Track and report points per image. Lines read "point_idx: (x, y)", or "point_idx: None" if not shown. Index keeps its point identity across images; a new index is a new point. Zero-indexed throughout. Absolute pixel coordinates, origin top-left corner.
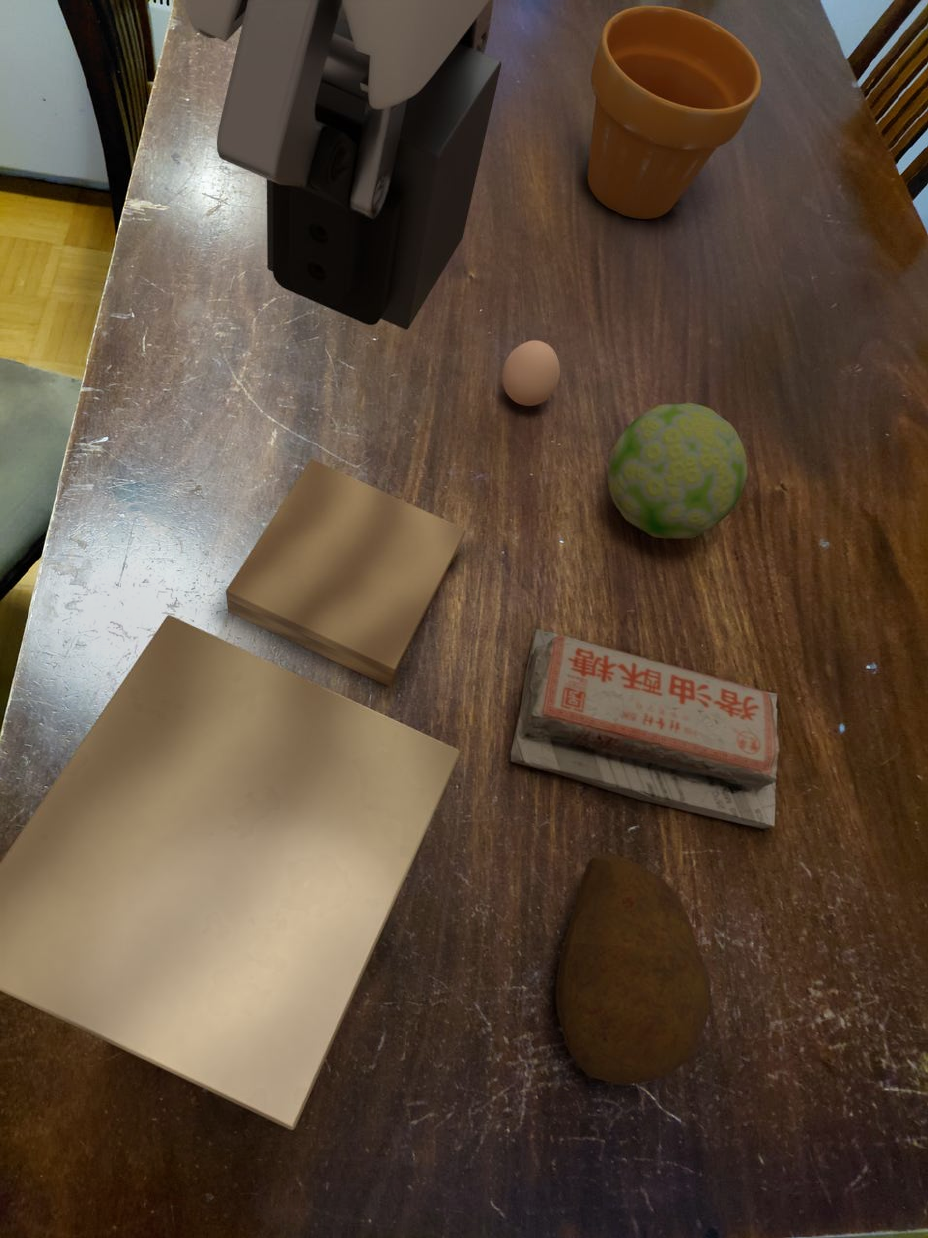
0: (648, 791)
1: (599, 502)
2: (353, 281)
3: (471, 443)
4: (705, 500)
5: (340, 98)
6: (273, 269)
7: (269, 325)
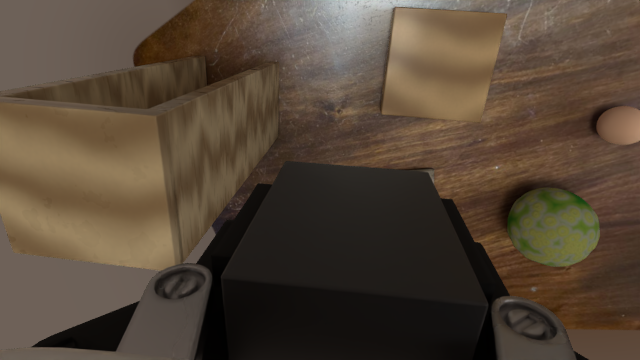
0: None
1: (530, 181)
2: None
3: (557, 100)
4: (525, 248)
5: (254, 351)
6: (257, 185)
7: None
